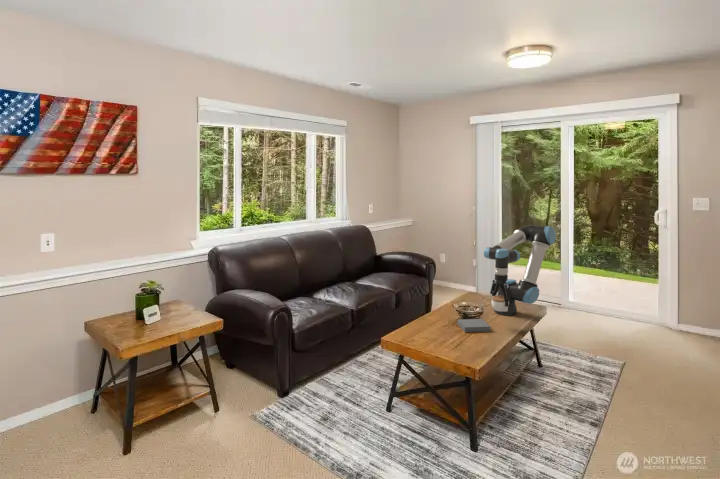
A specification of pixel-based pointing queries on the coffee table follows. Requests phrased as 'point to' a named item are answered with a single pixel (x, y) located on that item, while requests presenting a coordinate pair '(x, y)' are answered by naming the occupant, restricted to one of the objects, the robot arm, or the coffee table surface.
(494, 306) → the lidded jar
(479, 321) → the block
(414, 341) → the coffee table surface
